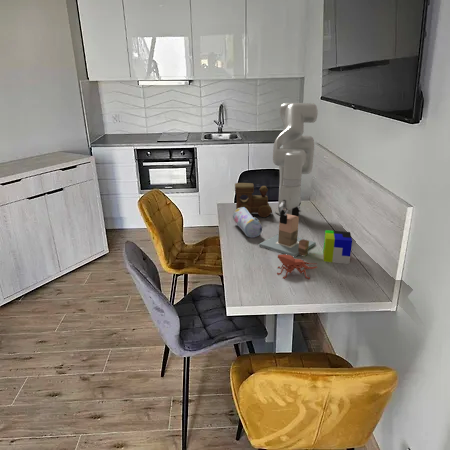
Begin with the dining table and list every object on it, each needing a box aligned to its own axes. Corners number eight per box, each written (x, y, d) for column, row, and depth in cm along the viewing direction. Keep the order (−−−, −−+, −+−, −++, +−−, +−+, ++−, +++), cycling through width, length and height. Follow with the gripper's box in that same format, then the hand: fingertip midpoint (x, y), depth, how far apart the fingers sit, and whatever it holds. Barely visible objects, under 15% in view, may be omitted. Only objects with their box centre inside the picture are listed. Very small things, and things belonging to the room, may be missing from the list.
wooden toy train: (234, 217, 212) (235, 187, 207) (234, 211, 223) (234, 182, 217) (272, 218, 212) (273, 188, 206) (270, 211, 223) (271, 182, 217)
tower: (301, 252, 170) (302, 239, 168) (307, 254, 168) (309, 240, 166) (298, 254, 168) (299, 241, 166) (304, 256, 166) (305, 242, 164)
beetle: (275, 278, 148) (277, 247, 143) (277, 264, 159) (279, 234, 155) (317, 282, 145) (320, 250, 141) (315, 267, 157) (318, 237, 152)
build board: (281, 234, 189) (281, 232, 189) (315, 244, 178) (315, 241, 178) (259, 246, 176) (259, 243, 176) (294, 257, 165) (295, 254, 165)
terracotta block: (286, 226, 179) (287, 213, 177) (298, 229, 175) (298, 216, 173) (278, 230, 175) (279, 217, 172) (290, 233, 171) (291, 220, 169)
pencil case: (262, 237, 186) (263, 218, 183) (245, 239, 184) (245, 220, 180) (248, 223, 205) (248, 205, 202) (231, 224, 202) (232, 206, 199)
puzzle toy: (349, 264, 160) (352, 240, 157) (323, 261, 162) (326, 238, 158) (347, 254, 169) (350, 232, 166) (323, 251, 171) (325, 230, 168)
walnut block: (285, 239, 181) (286, 226, 179) (296, 242, 177) (297, 229, 175) (278, 242, 176) (278, 230, 174) (289, 246, 173) (290, 233, 171)
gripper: (294, 176, 176) (292, 213, 182) (273, 184, 164) (270, 223, 170) (309, 179, 172) (306, 217, 178) (288, 187, 159) (286, 227, 165)
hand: (289, 220), depth 174 cm, fingers open, 9 cm apart
